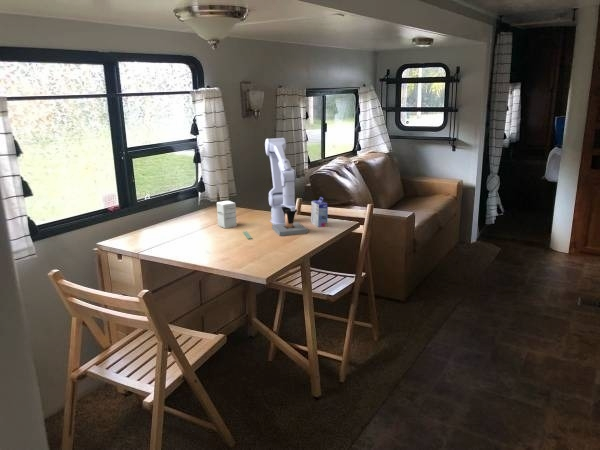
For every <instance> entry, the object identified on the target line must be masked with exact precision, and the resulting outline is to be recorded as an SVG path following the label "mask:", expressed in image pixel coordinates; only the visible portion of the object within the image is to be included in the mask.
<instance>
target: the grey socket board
mask: <svg viewBox="0 0 600 450" xmlns="http://www.w3.org/2000/svg"><path fill="white" fill-rule="evenodd" d="M293 227H294V228H288V229H286V228H285V224H275V225H274V224H272V225H271V229H272V230H273V231H274V232H275V233H276V235H278V236H279V237H286V236H292V235H293V236H294V235H295V236H296V235H303V234H308V233H309V232H308V230H309V229H308V228H307V227H306V226H304V225H303V224H301V223H300V222H299V221H297V222H294V221H293Z"/></svg>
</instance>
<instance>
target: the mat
mask: <svg viewBox="0 0 600 450" xmlns="http://www.w3.org/2000/svg"><path fill="white" fill-rule="evenodd" d="M242 233H243V235H244V236H245V238H246V239H247V240H253V237H252V236H251V235H250V234H249V232H248V231H246V230H245V231H242Z"/></svg>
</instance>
